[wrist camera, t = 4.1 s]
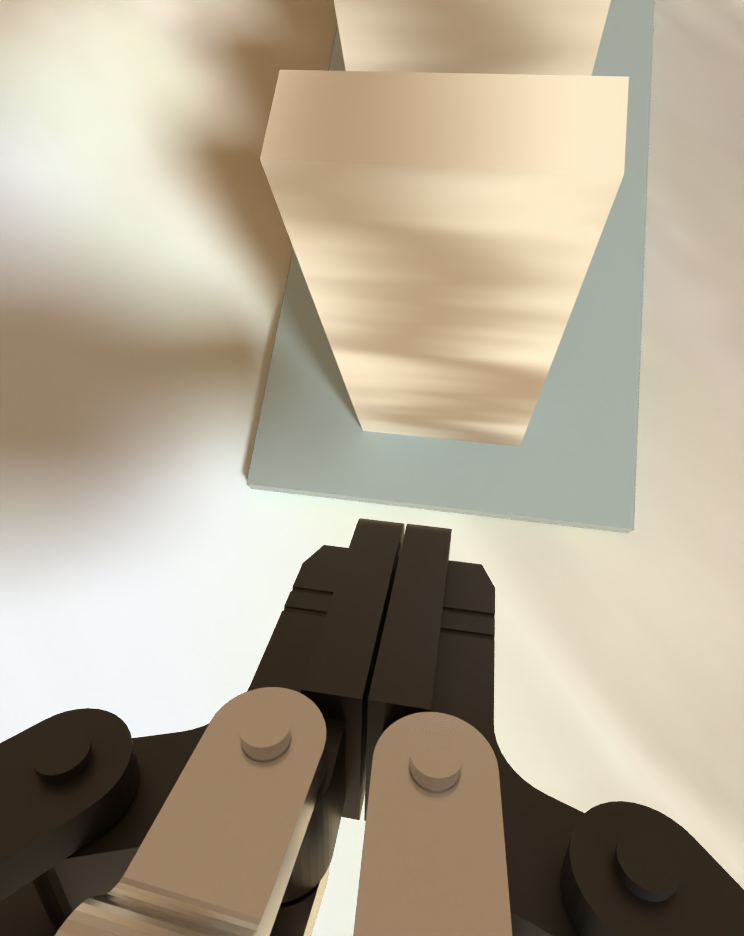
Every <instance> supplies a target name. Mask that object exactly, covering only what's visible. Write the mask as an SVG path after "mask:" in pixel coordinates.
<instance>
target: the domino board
mask: <svg viewBox="0 0 744 936" xmlns="http://www.w3.org/2000/svg"><path fill="white" fill-rule="evenodd" d="M653 21H654V0H611V2H610V6H609V10H608V14H607V17H606V21H605V25H604V29H603V33H602V37H601V41H600V45H599V48H598V52H597V56H596V60H595V64H594V68H593V72H592V75H591V76H624V77H629V86H628V106H627V126H626V146H625V166H624V176H623V178H622V181H621V184H620V186H619V189H618V191H617V194H616V197H615V199H614V202H613V205H612V207H611V210H610V212H609V215H608V218H607V220H606V223H605V225H604V228H603V231H602V233H601V236H600V239H599V241H598V244H597V246H596V249H595V252H594V254H593V257H592V259H591V262H590V265H589V267H588V270H587V272H586V275H585V278H584V280H583V283H582V286H581V288H580V291H579V293H578V296H577V299H576V301H575V304H574V306H573V309H572V312H571V314H570V317H569V319H568V322H567V325H566V327H565V330H564V333H563V335H562V338H561V340H560V343H559V346H558V348H557V351H556V353H555V356H554V359H553V361H552V364H551V367H550V369H549V372H548V374H547V377H546V380H545V382H544V385H543V387H542V390H541V393H540V395H539V398H538V400H537V403H536V406H535V408H534V411H533V414H532V416H531V419H530V421H529V424H528V427H527V429H526V432H525V434H524V437H523V440H522V442H521V445H520V447H517V446H507V445H497V444H487V443H478V442H468V441H458V440H448V439H438V438H428V437H419V436H409V435H399V434H389V433H379V432H370V431H363V430H362V428H361V425H360V422H359V420H358V417H357V414H356V412H355V409H354V407H353V404H352V401H351V399H350V396H349V393H348V391H347V388H346V385H345V383H344V380H343V377H342V375H341V372H340V370H339V367H338V364H337V362H336V359H335V356H334V354H333V351H332V348H331V346H330V343H329V341H328V338H327V335H326V333H325V330H324V327H323V325H322V322H321V319H320V317H319V314H318V312H317V309H316V306H315V304H314V301H313V298H312V296H311V293H310V290H309V288H308V285H307V283H306V280H305V277H304V275H303V272H302V269H301V267H300V264H299V261H298V259H297V256H296V254H295V251H294V248H293V252H292V257H291V262H290V267H289V272H288V277H287V282H286V287H285V292H284V297H283V302H282V307H281V312H280V317H279V322H278V327H277V332H276V337H275V342H274V347H273V353H272V358H271V363H270V368H269V373H268V378H267V383H266V388H265V393H264V398H263V403H262V408H261V413H260V418H259V423H258V428H257V433H256V438H255V443H254V448H253V453H252V458H251V463H250V469H249V474H248V479H247V485H248V486H249V487H250V488H252V489H259V490H268V491H276V492H285V493H293V494H302V495H310V496H319V497H327V498H336V499H344V500H353V501H361V502H370V503H378V504H387V505H395V506H404V507H412V508H421V509H429V510H437V511H446V512H454V513H463V514H471V515H480V516H488V517H497V518H505V519H514V520H522V521H531V522H539V523H548V524H556V525H565V526H573V527H582V528H590V529H599V530H607V531H616V532H624V533H629V532H631V531H632V530H634V512H635V486H636V460H637V434H638V408H639V383H640V357H641V331H642V305H643V279H644V253H645V227H646V202H647V176H648V150H649V124H650V98H651V72H652V47H653ZM328 71H346V69H345V63H344V58H343V52H342V46H341V40H340V34H339V28H338V25H337V30H336V35H335V40H334V45H333V50H332V55H331V60H330V65H329V70H328Z"/></svg>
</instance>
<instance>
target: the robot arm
mask: <svg viewBox="0 0 744 936" xmlns="http://www.w3.org/2000/svg"><path fill="white" fill-rule="evenodd" d="M451 531H452V529H446V528H438V527H430V526H421V525H413V524H407V526H406V530H405V535H404V524H403V523H394V522H386V521H377V520H369V519H359V521H358V523H357V526H356V529H355V532H354V535H353V538H352V540H351V543H350V546H349V548H343V547H335V546H327V545H323V546H322V547H321V548H320V549H319V550H318V551H317V552H315V553H314V554H313V555H312V556H311V557H310V558H308V559H307V560H306V561H305V562H304V563H303V564H302V567H301V569H300V571H299V574H298V576H297V578H296V580H295V583H294V585H293V590H292V591H291V592H290V594H289V597H288V599H287V601H286V604H285V608H284V611H282V613H281V615H280V618H279V620H278V622H277V625H276V627H275V629H274V632H273V634H272V636H271V639H270V641H269V643H268V646H267V648H266V650H265V653H264V655H263V657H262V659H261V662H260V664H259V666H258V669H257V671H256V673H255V676H254V678H253V680H252V683H251V685H250V687H249V689H248V691H247V692H245V693H243V694H241V695H238V696H237V697H235V698H233V699H232V700H230V701H229V702H228V703H226V704H225V705H224V706H223V707H222V708H221V709H220V710H219V711H218V712H217V713H216V714H215V716H214V717H213V719H212V720H211V722H210V723H209V724H207V725H205V726H202V727H199V728H196V729H193V730H188V731H183V732H177V733H169V734H162V735H154V736H146V737H139V738H131V734H130V731H129V729H128V727H127V725H126V724H125V723H124V722H123V721H122V719H120V718H119V717H117V716H116V715H115V714H112V713H110V712H108V711H104V710H100V709H89V708H86V709H76V710H71V711H66V712H63V713H60V714H57V715H54V716H52V717H50V718H48V719H46V720H44V721H42V722H40V723H38V724H36V725H34V726H32V727H30V728H28V729H27V730H25V731H23V732H21V733H19V734H17V735H15V736H13V737H11V738H10V739H8V740H6V741H4V742H2V743H0V936H311V934H312V931H313V928H314V924H315V921H316V918H317V914H318V911H319V907H320V904H321V901H322V897H323V894H324V891H325V887H326V884H327V880H328V875H329V865H330V862H331V859H332V856H333V851H334V847H335V842H336V838H337V833H338V829H339V824H340V820H341V817H346V818H351V819H357V820H360V815H361V810H362V805H363V799H364V794H365V821H366V825H365V834H364V843H363V852H362V861H361V871H360V880H359V889H358V898H357V907H356V916H355V926H354V935H353V936H744V890H743V889H742V888H741V887H740V885H739V884H738V883H737V882H736V881H735V880H734V879H733V878H732V877H731V876H730V875H729V874H728V873H727V872H726V871H725V870H724V869H723V868H722V867H721V866H720V865H719V864H718V863H717V862H716V860H715V859H714V858H713V857H712V856H711V855H710V854H709V853H708V852H707V851H706V850H705V849H704V848H703V847H702V846H701V845H700V844H699V843H698V842H697V841H696V840H695V839H694V838H693V837H692V836H691V835H690V834H689V833H688V832H687V831H686V830H685V829H684V828H683V827H682V826H680V825H679V824H677V823H676V822H675V821H673V820H672V819H671V818H669V817H667V816H666V815H664V814H662V813H660V812H659V811H656V810H654V809H652V808H649V807H647V806H644V805H640V804H636V803H631V802H623V801H619V802H608V803H604V804H600V805H598V806H595V807H593V808H591V809H590V810H589V811H587V812H586V813H583V812H581V811H579V810H577V809H575V808H573V807H571V806H569V805H567V804H564V803H562V802H560V801H558V800H556V799H554V798H552V797H550V796H548V795H546V794H544V793H543V792H541V791H539V790H537V789H536V788H534V787H533V786H531V785H530V784H529V783H527V782H526V781H525V780H523V779H522V778H521V777H520V776H519V775H518V774H517V773H516V772H515V771H514V770H513V769H512V767H511V766H510V765H509V764H508V763H507V761H506V759H505V758H504V756H503V755H502V753H501V751H500V749H499V746H498V744H497V741H496V737H495V733H494V635H495V619H494V615H495V587H494V585H493V584H492V582H491V580H490V578H489V577H488V575H487V573H486V571H485V570H484V568H483V566H482V565H481V564H473V563H465V562H457V561H449V550H450V541H451Z"/></svg>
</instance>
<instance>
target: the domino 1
mask: <svg viewBox="0 0 744 936" xmlns="http://www.w3.org/2000/svg"><path fill="white" fill-rule="evenodd" d="M610 2H611V0H334V5H335V11H336V17H337V23H338V28H339V34H340V40H341V46H342V52H343V58H344V63H345V69H346V71H375V72H425V73H475V74H525V75H574V76H591V75H592V72H593V68H594V64H595V60H596V56H597V52H598V48H599V45H600V41H601V37H602V33H603V29H604V25H605V21H606V17H607V14H608V10H609V6H610Z"/></svg>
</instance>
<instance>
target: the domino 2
mask: <svg viewBox="0 0 744 936" xmlns="http://www.w3.org/2000/svg"><path fill="white" fill-rule="evenodd" d="M628 86H629V77H624V76H574V75H525V74H475V73H425V72H375V71H325V70H279V75H278V79H277V84H276V88H275V93H274V97H273V102H272V106H271V111H270V115H269V120H268V124H267V129H266V133H265V138H264V142H263V147H262V151H261V156H260V161H261V164H262V167H263V169H264V172H265V174H266V177H267V180H268V182H269V185H270V188H271V190H272V193H273V196H274V198H275V201H276V203H277V206H278V209H279V211H280V214H281V217H282V219H283V222H284V225H285V227H286V230H287V232H288V235H289V238H290V240H291V243H292V246H293V248H294V251H295V254H296V256H297V259H298V261H299V264H300V267H301V269H302V272H303V275H304V277H305V280H306V283H307V285H308V288H309V290H310V293H311V296H312V298H313V301H314V304H315V306H316V309H317V312H318V314H319V317H320V319H321V322H322V325H323V327H324V330H325V333H326V335H327V338H328V341H329V343H330V346H331V348H332V351H333V354H334V356H335V359H336V362H337V364H338V367H339V370H340V372H341V375H342V377H343V380H344V383H345V385H346V388H347V391H348V393H349V396H350V399H351V401H352V404H353V407H354V409H355V412H356V414H357V417H358V420H359V422H360V425H361V428H362V430H363V431H370V432H379V433H389V434H399V435H409V436H419V437H428V438H438V439H448V440H458V441H468V442H478V443H487V444H497V445H507V446H517V447H520V445H521V442H522V440H523V437H524V434H525V432H526V429H527V427H528V424H529V421H530V419H531V416H532V414H533V411H534V408H535V406H536V403H537V400H538V398H539V395H540V393H541V390H542V387H543V385H544V382H545V380H546V377H547V374H548V372H549V369H550V367H551V364H552V361H553V359H554V356H555V353H556V351H557V348H558V346H559V343H560V340H561V338H562V335H563V333H564V330H565V327H566V325H567V322H568V319H569V317H570V314H571V312H572V309H573V306H574V304H575V301H576V299H577V296H578V293H579V291H580V288H581V286H582V283H583V280H584V278H585V275H586V272H587V270H588V267H589V265H590V262H591V259H592V257H593V254H594V252H595V249H596V246H597V244H598V241H599V239H600V236H601V233H602V231H603V228H604V225H605V223H606V220H607V218H608V215H609V212H610V210H611V207H612V205H613V202H614V199H615V197H616V194H617V191H618V189H619V186H620V184H621V181H622V178H623V176H624V166H625V146H626V126H627V106H628Z"/></svg>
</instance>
